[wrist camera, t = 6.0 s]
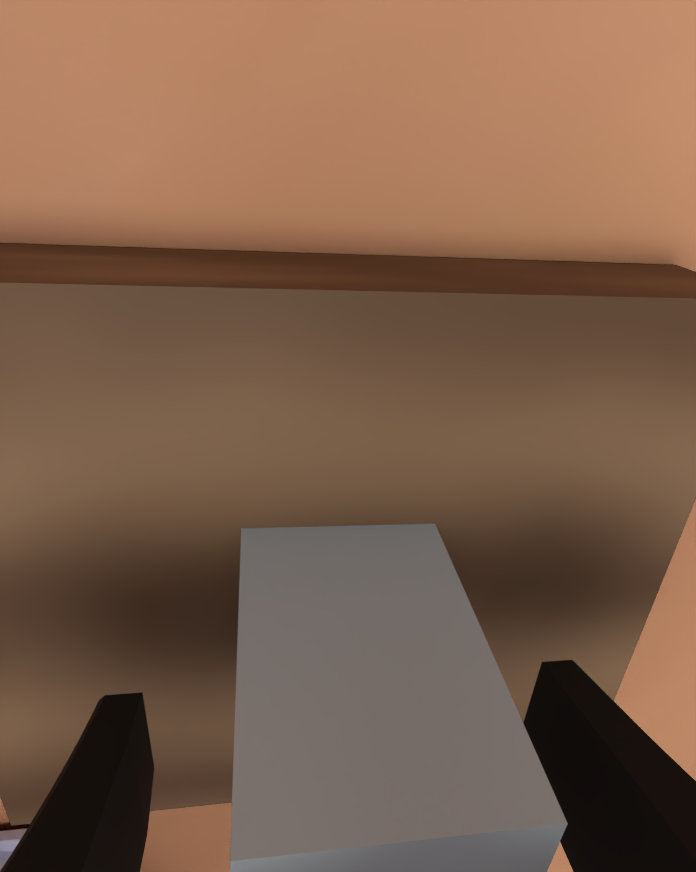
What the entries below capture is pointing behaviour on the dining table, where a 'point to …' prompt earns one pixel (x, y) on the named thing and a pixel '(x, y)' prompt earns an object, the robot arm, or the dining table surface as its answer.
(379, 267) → the walnut plinth
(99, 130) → the dining table surface
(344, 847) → the grey block
